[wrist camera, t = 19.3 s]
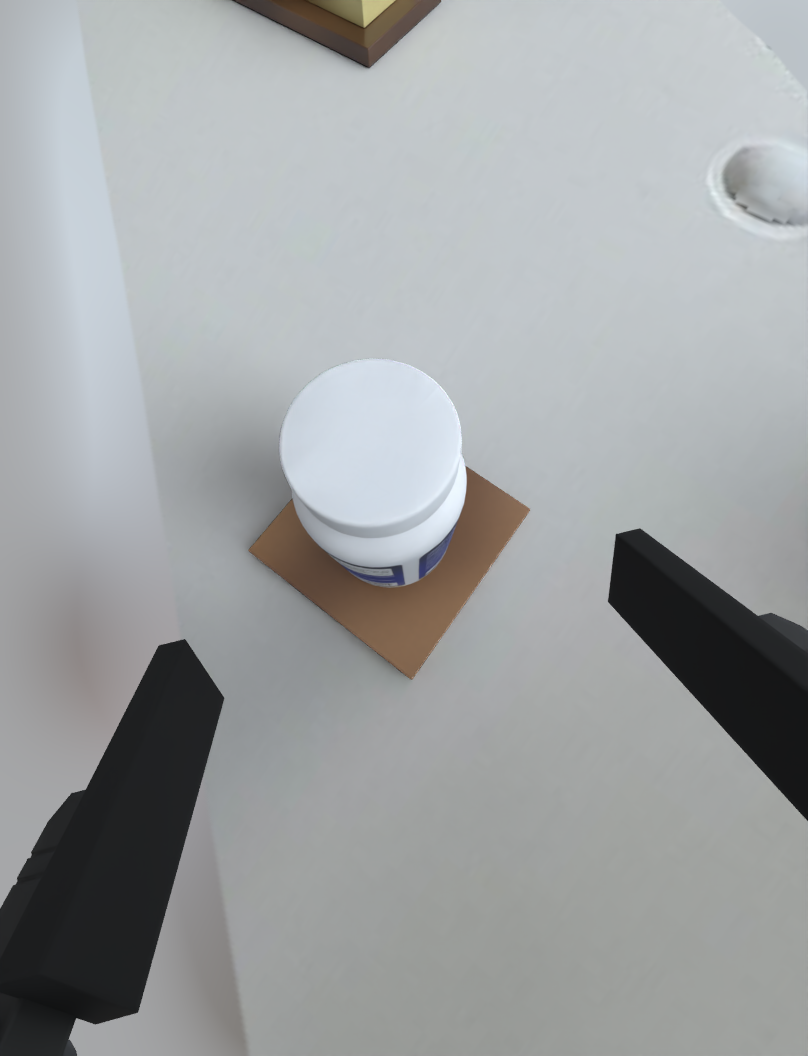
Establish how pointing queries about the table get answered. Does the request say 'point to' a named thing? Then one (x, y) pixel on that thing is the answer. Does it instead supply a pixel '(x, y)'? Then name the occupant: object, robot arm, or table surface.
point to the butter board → (348, 22)
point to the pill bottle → (376, 468)
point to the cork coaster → (408, 611)
